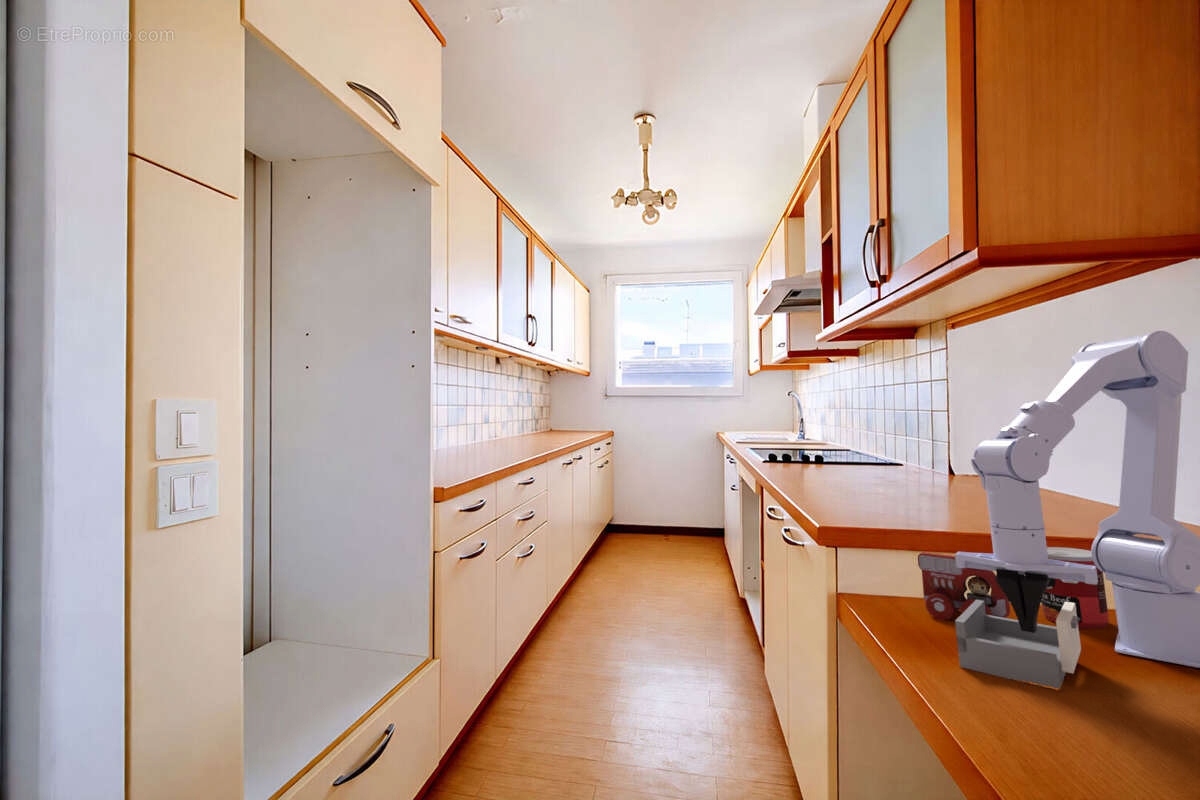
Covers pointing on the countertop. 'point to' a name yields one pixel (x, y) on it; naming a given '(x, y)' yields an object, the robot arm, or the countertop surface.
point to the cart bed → (1008, 648)
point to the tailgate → (1068, 637)
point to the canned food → (1076, 591)
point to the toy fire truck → (958, 587)
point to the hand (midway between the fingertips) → (1029, 629)
